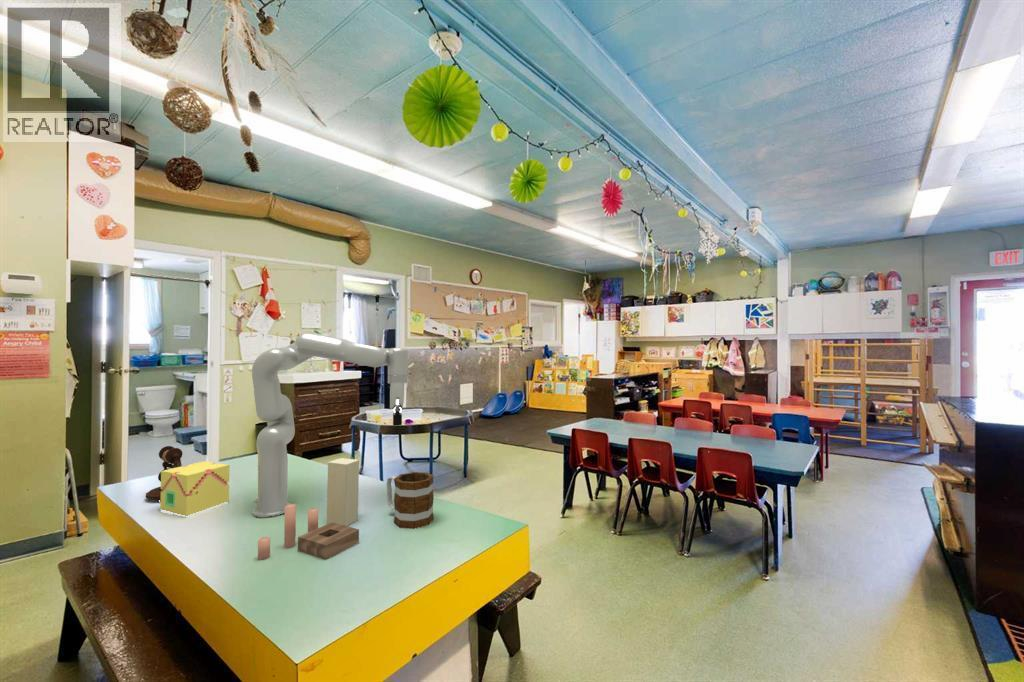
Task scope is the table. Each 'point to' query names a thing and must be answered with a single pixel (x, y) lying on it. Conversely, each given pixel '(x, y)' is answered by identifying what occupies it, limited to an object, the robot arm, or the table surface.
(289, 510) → the pin long
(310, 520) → the pin medium
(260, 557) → the pin short
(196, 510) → the toy block
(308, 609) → the table surface
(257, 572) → the table surface
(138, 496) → the table surface
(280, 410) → the robot arm
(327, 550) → the hole block
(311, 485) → the table surface
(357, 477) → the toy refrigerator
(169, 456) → the brown rounded figure
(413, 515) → the mug
